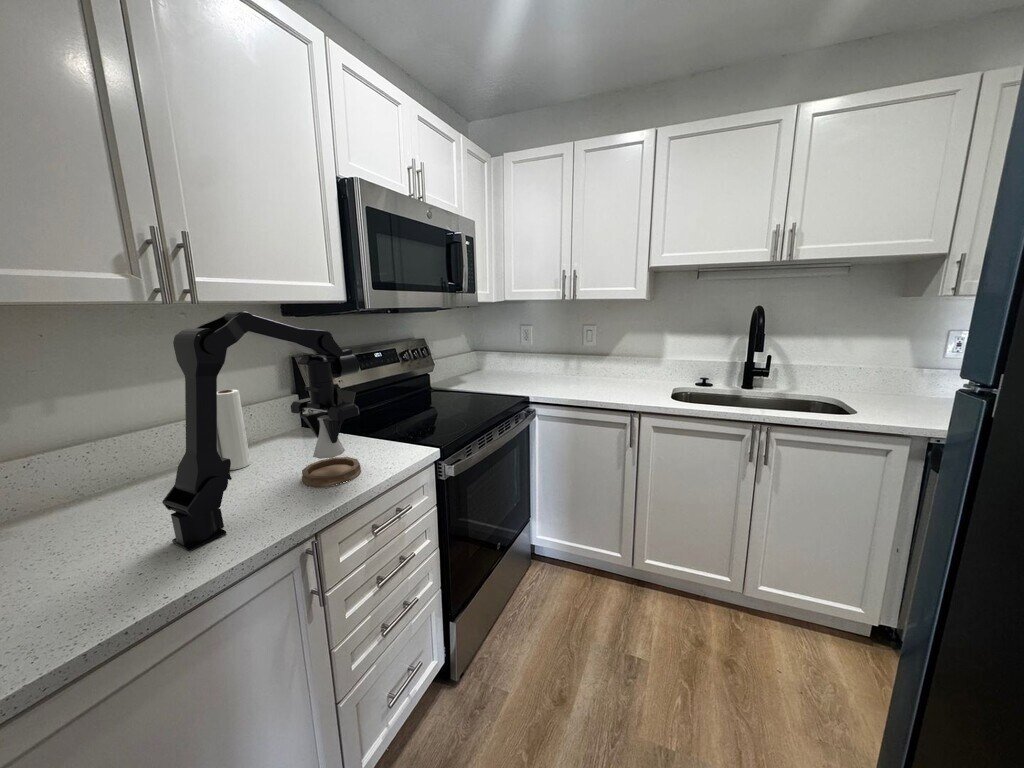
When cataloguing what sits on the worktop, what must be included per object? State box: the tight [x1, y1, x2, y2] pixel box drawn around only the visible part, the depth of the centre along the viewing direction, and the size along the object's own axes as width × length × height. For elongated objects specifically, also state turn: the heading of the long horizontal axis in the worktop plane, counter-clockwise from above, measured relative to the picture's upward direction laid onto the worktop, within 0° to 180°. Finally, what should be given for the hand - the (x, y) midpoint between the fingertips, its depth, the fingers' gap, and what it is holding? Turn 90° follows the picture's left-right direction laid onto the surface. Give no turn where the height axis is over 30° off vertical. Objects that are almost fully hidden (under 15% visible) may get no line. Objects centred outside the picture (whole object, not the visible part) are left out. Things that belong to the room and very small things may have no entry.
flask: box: [312, 414, 346, 460], centre depth 103 cm, size 7×7×10 cm
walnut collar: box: [301, 456, 362, 488], centre depth 105 cm, size 14×14×2 cm
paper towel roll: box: [217, 389, 251, 471], centre depth 110 cm, size 7×6×21 cm
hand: (327, 441), depth 103 cm, fingers closed on flask, 5 cm apart
